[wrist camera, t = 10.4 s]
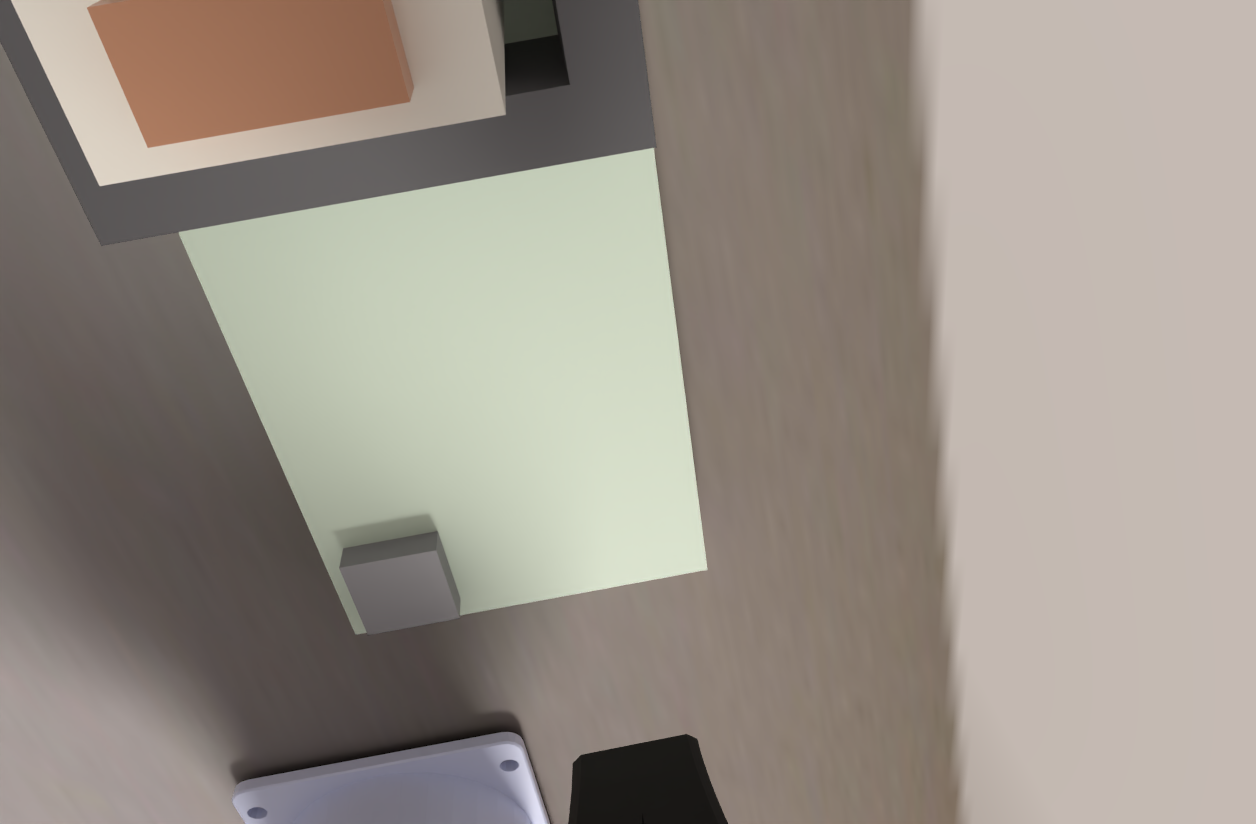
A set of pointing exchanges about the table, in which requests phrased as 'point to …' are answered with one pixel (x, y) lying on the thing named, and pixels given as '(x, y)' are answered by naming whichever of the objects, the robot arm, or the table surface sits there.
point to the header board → (452, 327)
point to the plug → (260, 75)
